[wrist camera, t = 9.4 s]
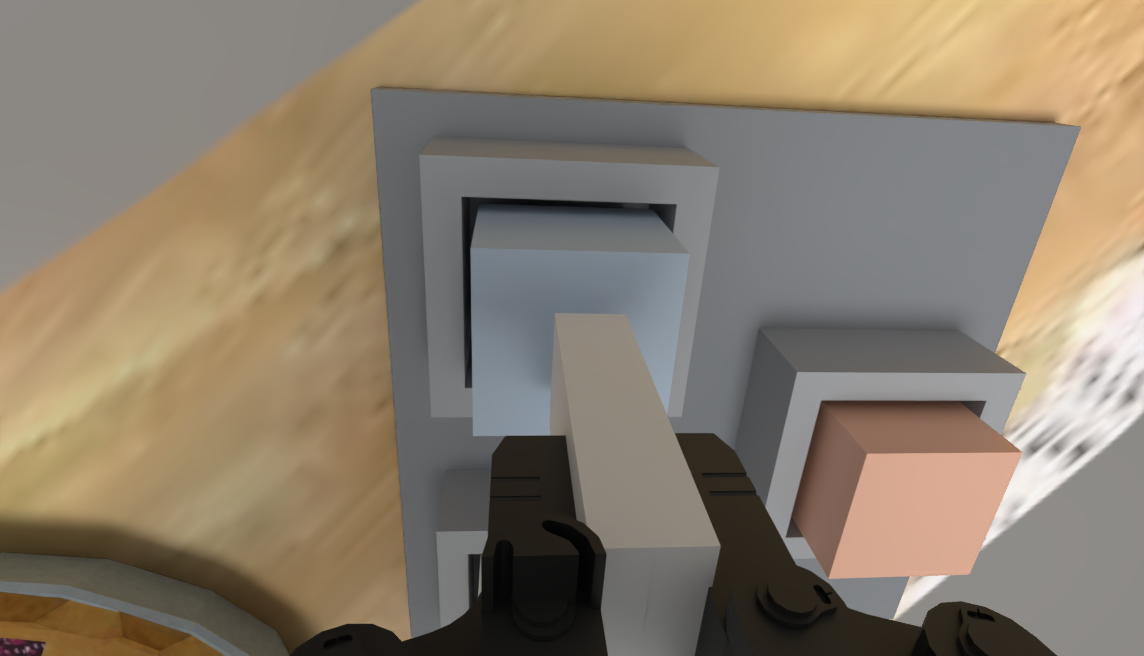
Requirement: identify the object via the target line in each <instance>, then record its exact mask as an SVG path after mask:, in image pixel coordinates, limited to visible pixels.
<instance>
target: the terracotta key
mask: <svg viewBox="0 0 1144 656" xmlns="http://www.w3.org/2000/svg"><path fill="white" fill-rule="evenodd" d="M1021 455H1022V452H1021V451H1020V450H1019V449H1018V448H1016V447H1015V446H1014V445H1013V444H1011V443H1010V442H1009V441H1008V440H1006V439H1005V438H1004V437H1003V436H1001V435H1000V434H999V433H998V432H996V431H995V430H994V429H993V428H991V427H990V426H989V425H988V424H987V423H985V422H984V421H983V420H982V419H980V418H979V417H978V416H977V415H975V414H974V413H973V412H972V411H970V410H969V409H968V408H967V407H965V406H964V405H963V404H962V403H960V402H959V401H901V400H821V403H820V407H819V411H818V415H817V419H816V423H815V426H814V430H813V434H812V438H811V442H810V446H809V449H808V453H807V457H806V461H805V465H804V469H803V472H802V476H801V480H800V484H799V488H798V492H797V495H796V499H795V503H794V507H793V511H792V515H791V516H792V518H793V520H794V521H795V523H796V525H797V527H798V528H799V530H800V532H801V533H802V535H803V537H804V538H805V540H806V542H807V543H808V545H809V547H810V548H811V550H812V552H813V554H814V555H815V557H816V559H817V560H818V562H819V564H820V565H821V567H822V569H823V570H824V572H825V574H826V576H827V577H828V579H840V578H872V577H905V576H937V575H968V574H970V572H971V569H972V567H973V565H974V563H975V560H976V558H977V556H978V553H979V551H980V549H981V547H982V544H983V542H984V540H985V537H986V535H987V533H988V530H989V528H990V526H991V524H992V521H993V519H994V517H995V514H996V512H997V510H998V508H999V505H1000V503H1001V501H1002V498H1003V496H1004V494H1005V491H1006V489H1007V487H1008V485H1009V482H1010V480H1011V478H1012V475H1013V473H1014V471H1015V468H1016V466H1017V464H1018V462H1019V459H1020V457H1021Z"/></svg>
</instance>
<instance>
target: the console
mask: <svg viewBox="0 0 1144 656" xmlns="http://www.w3.org/2000/svg"><path fill="white" fill-rule="evenodd" d="M371 100H372V113H373V127H374V140H375V154H376V167H377V181H378V194H379V208H380V221H381V235H382V248H383V262H384V275H385V289H386V302H387V316H388V329H389V343H390V356H391V370H392V384H393V397H394V411H395V424H396V438H397V451H398V465H399V478H400V492H401V505H402V519H403V532H404V546H405V559H406V573H407V586H408V600H409V613H410V627H411V637H418V636H421V635H424V634H427V633H430V632H433V631H435V630H437V629H440V628H442V627H444V626H447V625H449V624H451V623H452V622H453V621H455V620H456V619H458V618H459V617H461V616H462V615H463V614H465V613H466V612H467V610H468V609H469V608H470V607H471V606H472V605H473V604H474V603H475V602H476V600H477V598H478V589H479V572H480V555H481V554H482V553H483V550H484V547H485V544H486V541H487V539H488V521H489V502H490V482H491V463H492V454H493V453H494V451H495V450H496V448H497V447H498V446H499V444H500V443H501V441H502V440H503V439H504V437H505V436H473V401H472V321H471V243H472V238H473V233H474V228H475V223H476V217H477V212H478V207H479V204H508V205H537V206H567V207H596V208H625V209H653V211H654V212H655V213H656V214H657V215H658V217H659V218H660V219H661V220H662V221H663V222H664V224H665V225H666V226H667V227H668V228H669V230H670V231H671V232H672V233H673V234H674V235H675V237H676V238H677V239H678V240H679V241H680V243H681V244H682V245H683V246H684V247H685V248H686V250H687V251H688V252H689V253H690V258H689V265H688V272H687V279H686V286H685V293H684V300H683V307H682V314H681V321H680V328H679V335H678V342H677V349H676V357H675V364H674V371H673V378H672V385H671V392H670V399H669V406H668V413H667V416H668V418H669V421H670V423H671V426H672V428H673V431H674V433H714V434H715V435H716V436H718V437H719V438H720V439H721V440H722V441H724V442H725V443H726V444H727V445H728V446H730V447H731V448H732V449H733V450H734V451H735V452H736V454H737V456H738V457H739V459H740V461H741V463H742V465H743V467H744V469H745V470H746V472H747V477H749V478H750V480H751V482H752V483H753V485H754V487H755V489H756V494H757V495H759V496H760V498H761V500H762V502H763V504H764V506H765V508H766V509H767V511H768V513H769V515H770V517H771V519H772V521H773V522H774V524H775V526H776V528H777V530H778V532H779V534H780V535H781V537H782V539H783V541H784V543H785V545H786V547H787V548H788V550H789V552H790V554H791V556H792V558H793V560H794V562H795V563H796V565H797V566H800V567H803V568H805V569H808V570H810V571H812V572H813V573H815V574H816V575H817V576H819V577H820V578H822V579H823V580H824V581H826V582H827V583H829V584H830V585H831V586H832V588H833V589H834V590H835V591H836V592H837V594H838V595H839V596H840V597H841V599H842V600H843V601H844V602H845V604H846V606H847V607H848V608H850V609H853V610H856V611H859V612H862V613H865V614H868V615H873V616H877V617H881V618H885V619H893V618H894V616H895V613H896V610H897V608H898V605H899V602H900V600H901V597H902V595H903V592H904V589H905V587H906V584H907V582H908V579H909V576H905V577H872V578H840V579H828V577H827V576H826V574H825V572H824V570H823V569H822V567H821V565H820V564H819V562H818V560H817V559H816V557H815V555H814V554H813V552H812V550H811V548H810V547H809V545H808V543H807V542H806V540H805V538H804V537H803V535H802V533H801V532H800V530H799V528H798V527H797V525H796V523H795V521H794V520H793V518H792V516H791V515H792V511H793V507H794V503H795V499H796V495H797V492H798V488H799V484H800V480H801V476H802V472H803V469H804V465H805V461H806V457H807V453H808V449H809V446H810V442H811V438H812V434H813V430H814V426H815V423H816V419H817V415H818V411H819V407H820V403H821V400H901V401H959V402H960V403H962V404H963V405H964V406H965V407H967V408H968V409H969V410H970V411H972V412H973V413H974V414H975V415H977V416H978V417H979V418H980V419H982V420H983V421H984V422H985V423H987V424H988V425H989V426H990V427H991V428H993V429H994V430H995V431H996V432H998V433H999V434H1000V435H1001V434H1002V431H1003V429H1004V427H1005V424H1006V422H1007V419H1008V417H1009V414H1010V412H1011V410H1012V407H1013V405H1014V402H1015V400H1016V397H1017V395H1018V393H1019V390H1020V388H1021V385H1022V383H1023V380H1024V378H1025V376H1026V373H1025V372H1023V371H1022V370H1020V369H1019V368H1017V367H1015V366H1014V365H1012V364H1011V363H1009V362H1008V361H1006V360H1005V359H1003V358H1001V357H1000V356H998V355H997V354H995V351H996V349H997V346H998V343H999V341H1000V338H1001V336H1002V333H1003V330H1004V328H1005V325H1006V322H1007V320H1008V317H1009V315H1010V312H1011V309H1012V307H1013V304H1014V301H1015V299H1016V296H1017V294H1018V291H1019V288H1020V286H1021V283H1022V281H1023V278H1024V275H1025V273H1026V270H1027V267H1028V265H1029V262H1030V260H1031V257H1032V254H1033V252H1034V249H1035V247H1036V244H1037V241H1038V239H1039V236H1040V233H1041V231H1042V228H1043V226H1044V223H1045V220H1046V218H1047V215H1048V212H1049V210H1050V207H1051V205H1052V202H1053V199H1054V197H1055V194H1056V192H1057V189H1058V186H1059V184H1060V181H1061V178H1062V176H1063V173H1064V171H1065V168H1066V165H1067V163H1068V160H1069V158H1070V155H1071V152H1072V150H1073V147H1074V144H1075V142H1076V139H1077V137H1078V134H1079V131H1080V129H1081V127H1080V126H1073V125H1066V124H1060V123H1047V122H1028V121H1009V120H990V119H971V118H953V117H934V116H915V115H896V114H877V113H858V112H839V111H821V110H802V109H783V108H764V107H745V106H726V105H707V104H689V103H670V102H651V101H632V100H613V99H594V98H575V97H556V96H538V95H519V94H500V93H481V92H462V91H443V90H424V89H406V88H387V87H376V88H373V89H371Z"/></svg>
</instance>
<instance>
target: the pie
mask: <svg viewBox="0 0 1144 656" xmlns="http://www.w3.org/2000/svg"><path fill="white" fill-rule="evenodd" d="M0 656H290V654H289V652H288V650H287V649H286V647H285V645H284V643H283V641H282V639H281V638H280V636H279V634H278V632H277V631H276V630H275V629H273V628H272V627H270V626H268V625H267V624H265V623H263V622H262V621H260V620H259V619H257V618H255V617H254V616H252V615H250V614H249V613H247V612H246V611H244V610H242V609H241V608H239V607H237V606H236V605H234V604H233V603H231V602H229V601H228V600H226V599H224V598H223V597H221V596H219V595H218V594H216V593H215V592H213V591H211V590H209V589H205V588H202V587H199V586H196V585H192V584H189V583H186V582H183V581H179V580H176V579H173V578H170V577H166V576H163V575H160V574H156V573H153V572H150V571H147V570H143V569H140V568H137V567H134V566H130V565H127V564H124V563H121V562H117V561H114V560H111V559H98V558H83V557H67V556H52V555H36V554H21V553H5V552H0Z"/></svg>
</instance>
